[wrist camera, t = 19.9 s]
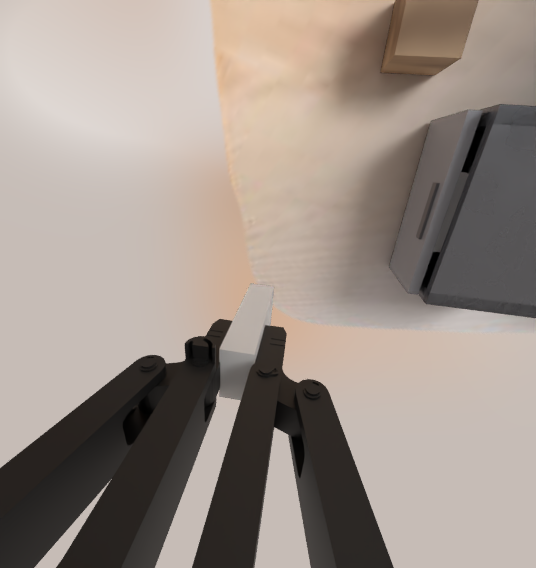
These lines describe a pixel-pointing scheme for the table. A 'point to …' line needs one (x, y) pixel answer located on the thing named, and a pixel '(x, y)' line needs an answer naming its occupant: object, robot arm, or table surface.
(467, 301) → the dark grey drawer housing
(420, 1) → the brown block
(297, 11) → the table surface
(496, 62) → the table surface
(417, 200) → the grey drawer
